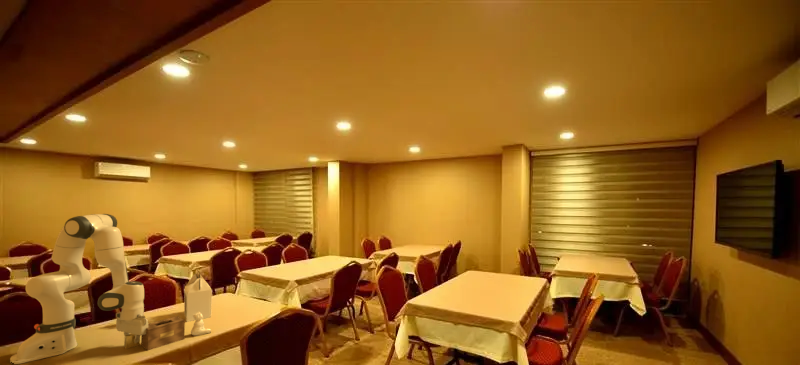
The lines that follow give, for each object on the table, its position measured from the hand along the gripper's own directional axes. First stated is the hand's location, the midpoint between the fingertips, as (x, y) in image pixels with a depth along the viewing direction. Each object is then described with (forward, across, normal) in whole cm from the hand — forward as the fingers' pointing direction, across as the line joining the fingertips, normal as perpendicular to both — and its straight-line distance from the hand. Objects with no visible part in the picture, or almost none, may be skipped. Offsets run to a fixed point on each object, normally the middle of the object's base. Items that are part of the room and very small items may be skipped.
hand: (132, 341), depth 167 cm
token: (+2, 0, 0) cm, 2 cm away
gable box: (+3, +12, -45) cm, 46 cm away
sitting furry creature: (+3, -18, -23) cm, 30 cm away
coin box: (+2, -10, -9) cm, 14 cm away
